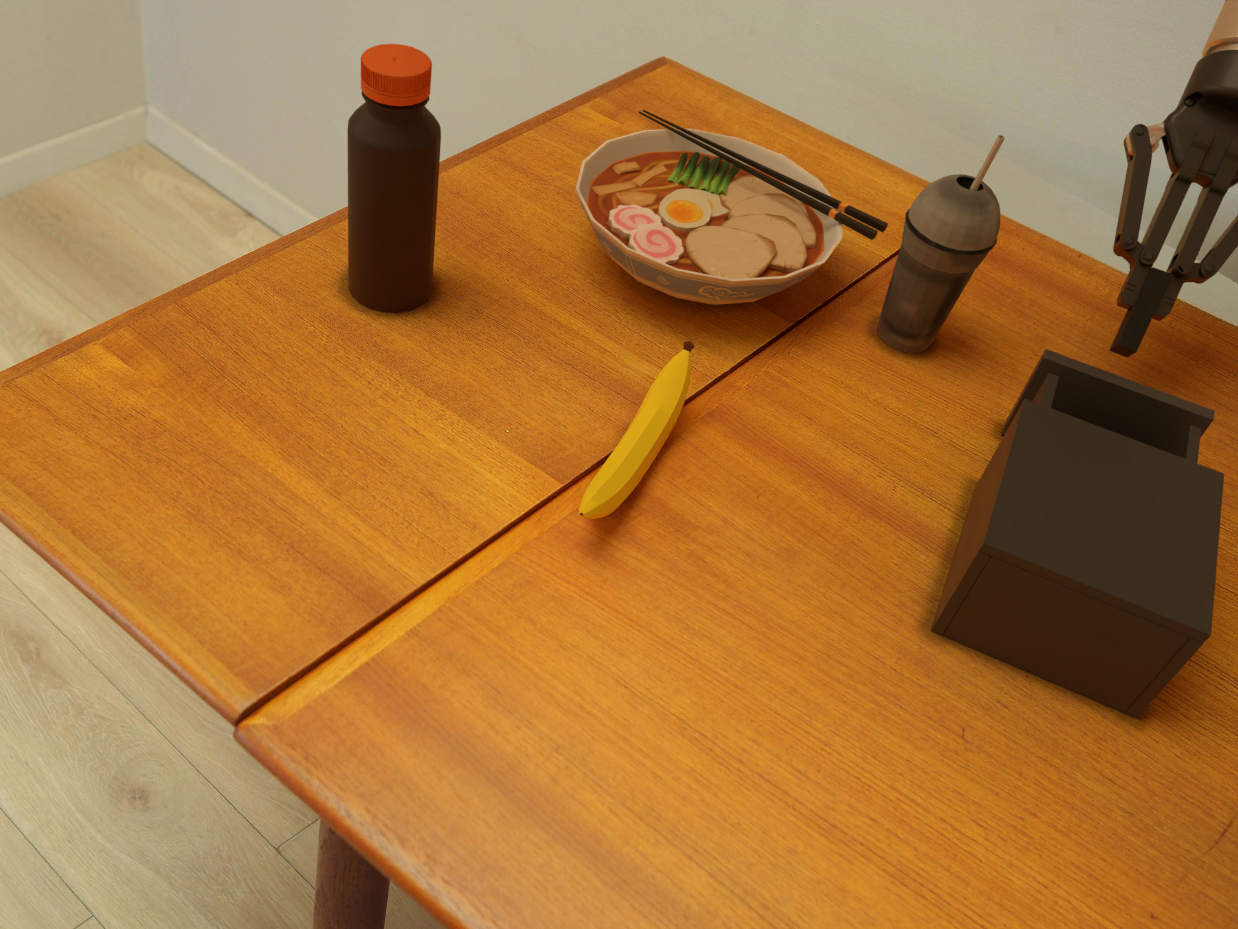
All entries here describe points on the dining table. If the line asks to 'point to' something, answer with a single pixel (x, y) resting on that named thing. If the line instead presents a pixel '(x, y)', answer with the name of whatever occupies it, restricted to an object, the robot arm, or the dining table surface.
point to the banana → (640, 439)
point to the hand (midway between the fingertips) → (1122, 351)
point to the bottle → (393, 181)
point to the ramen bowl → (711, 214)
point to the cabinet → (1086, 560)
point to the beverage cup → (938, 256)
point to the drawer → (1116, 405)
